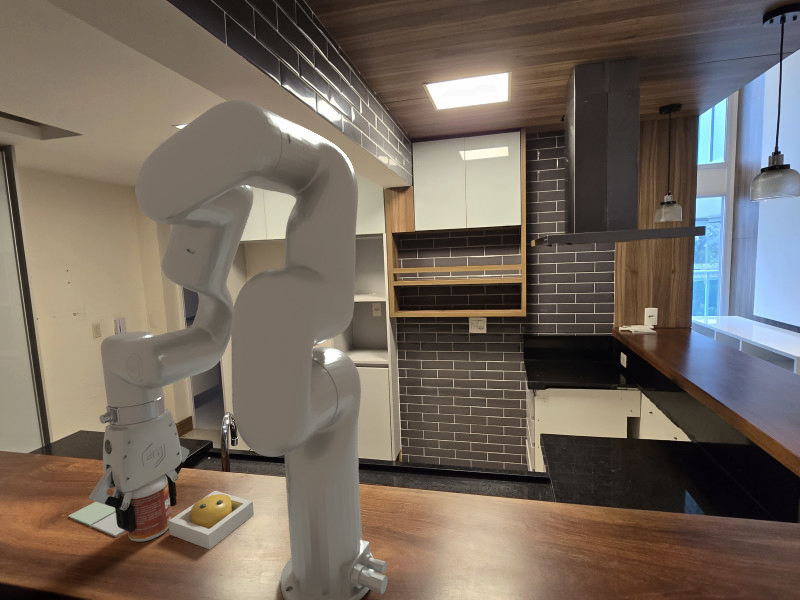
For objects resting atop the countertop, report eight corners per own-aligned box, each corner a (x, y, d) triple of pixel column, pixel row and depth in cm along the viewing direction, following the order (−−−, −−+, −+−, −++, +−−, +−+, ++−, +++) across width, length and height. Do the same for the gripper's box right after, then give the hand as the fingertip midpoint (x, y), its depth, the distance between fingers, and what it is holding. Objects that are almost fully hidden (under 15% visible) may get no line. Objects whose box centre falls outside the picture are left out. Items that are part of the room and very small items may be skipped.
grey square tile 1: (155, 513, 71) (154, 511, 71) (116, 537, 65) (115, 535, 65) (131, 505, 74) (131, 503, 74) (92, 527, 68) (92, 525, 68)
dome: (240, 515, 69) (238, 497, 69) (210, 537, 64) (208, 518, 63) (215, 507, 71) (213, 490, 71) (184, 528, 66) (182, 510, 66)
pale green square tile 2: (129, 504, 74) (129, 502, 74) (90, 526, 68) (90, 524, 68) (108, 496, 77) (108, 495, 77) (68, 517, 71) (68, 515, 71)
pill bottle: (177, 529, 66) (170, 465, 65) (133, 549, 62) (124, 481, 61) (166, 513, 71) (160, 453, 70) (124, 530, 67) (117, 466, 66)
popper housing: (253, 514, 70) (252, 501, 69) (209, 549, 62) (208, 534, 61) (216, 502, 74) (215, 490, 73) (170, 534, 65) (168, 520, 65)
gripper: (91, 436, 55) (106, 559, 57) (200, 395, 71) (209, 492, 73) (60, 428, 58) (76, 544, 60) (172, 390, 74) (181, 483, 76)
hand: (149, 515), depth 66 cm, fingers closed on pill bottle, 6 cm apart
